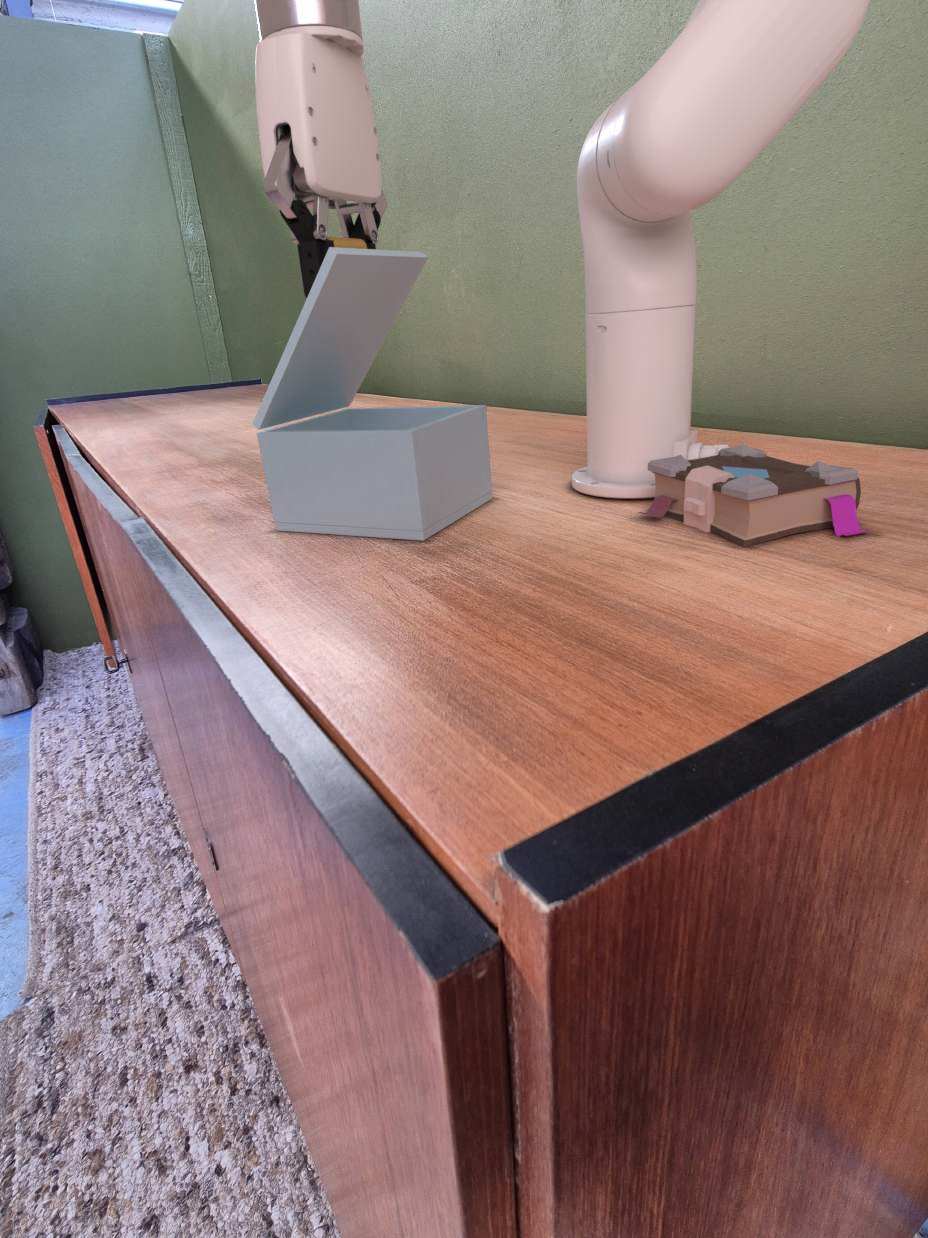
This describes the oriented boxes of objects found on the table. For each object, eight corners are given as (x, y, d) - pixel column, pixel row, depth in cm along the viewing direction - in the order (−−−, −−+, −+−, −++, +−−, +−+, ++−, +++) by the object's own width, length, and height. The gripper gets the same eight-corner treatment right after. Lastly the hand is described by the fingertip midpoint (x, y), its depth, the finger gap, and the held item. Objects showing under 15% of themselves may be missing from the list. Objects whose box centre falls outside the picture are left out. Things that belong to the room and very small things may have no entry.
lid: (428, 257, 62) (390, 223, 63) (337, 253, 52) (291, 213, 52) (349, 406, 72) (317, 376, 72) (258, 430, 61) (220, 395, 62)
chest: (492, 498, 69) (486, 404, 65) (423, 541, 58) (411, 430, 54) (359, 493, 76) (347, 408, 72) (275, 530, 65) (256, 432, 61)
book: (595, 503, 65) (594, 447, 63) (707, 482, 68) (710, 429, 66) (745, 564, 47) (751, 490, 45) (886, 532, 51) (897, 462, 49)
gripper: (338, 68, 61) (364, 298, 69) (186, 6, 48) (239, 302, 55) (412, 47, 58) (432, 292, 65) (272, -25, 44) (316, 295, 52)
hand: (343, 294), depth 60 cm, fingers closed on lid, 5 cm apart
